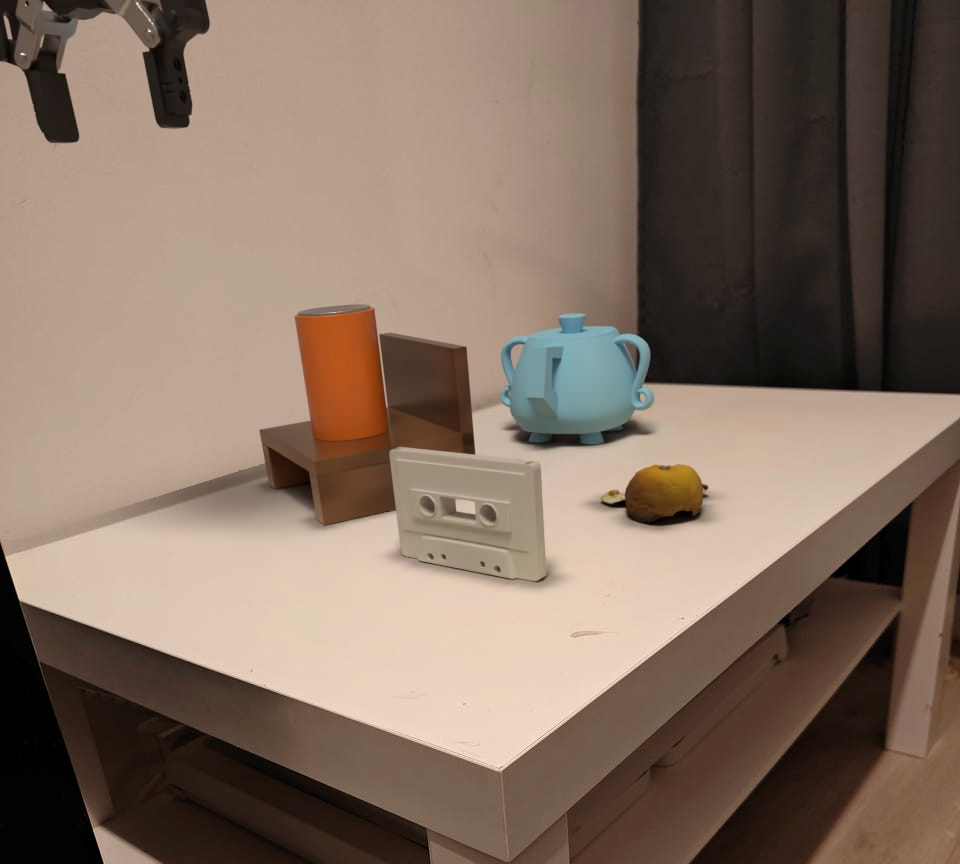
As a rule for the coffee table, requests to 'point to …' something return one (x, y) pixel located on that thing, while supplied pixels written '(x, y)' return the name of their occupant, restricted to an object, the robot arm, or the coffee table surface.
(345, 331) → the can
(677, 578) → the coffee table surface
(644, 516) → the fruit
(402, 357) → the shelf
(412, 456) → the cassette
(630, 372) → the teapot
